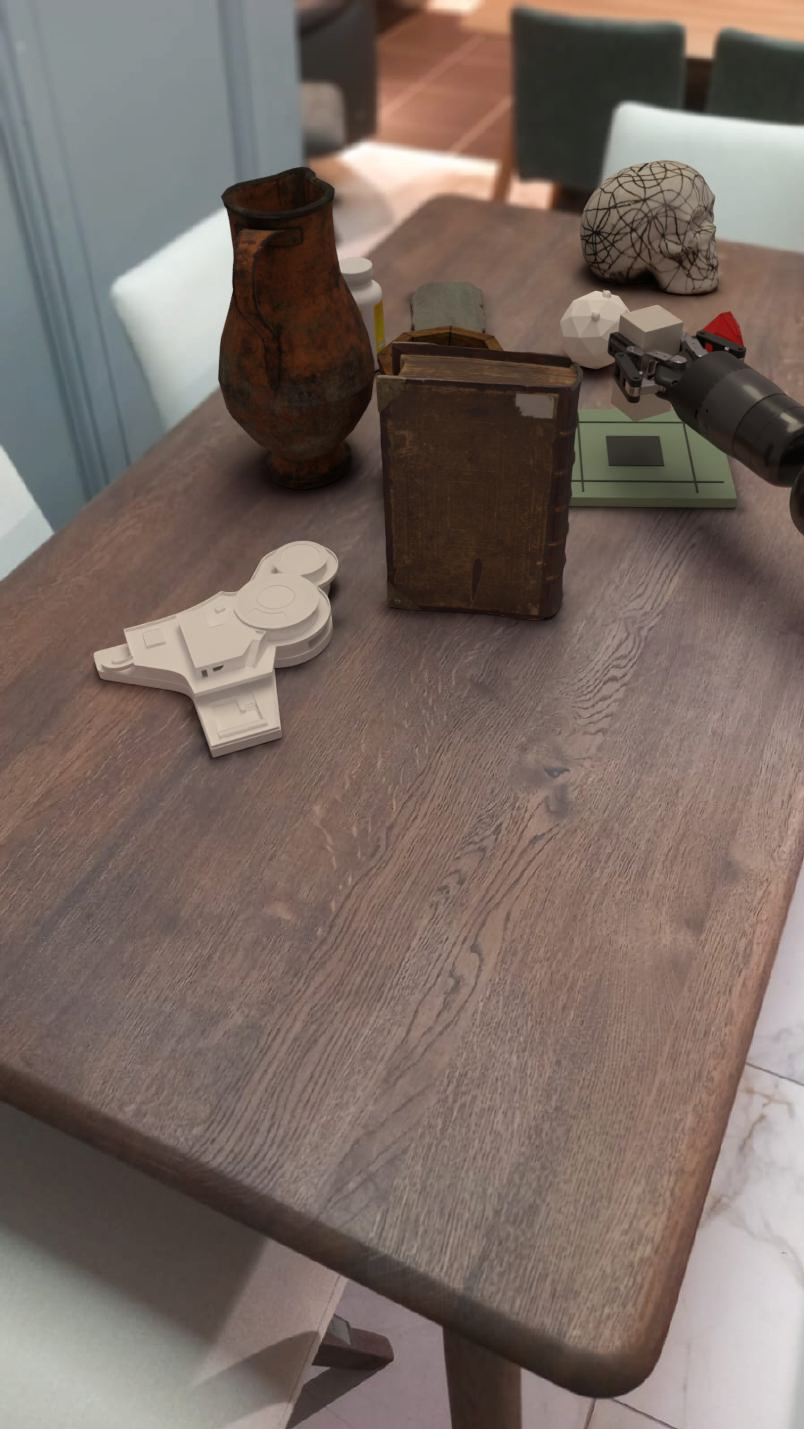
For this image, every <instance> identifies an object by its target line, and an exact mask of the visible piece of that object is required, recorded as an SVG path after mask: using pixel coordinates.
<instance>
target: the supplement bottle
mask: <svg viewBox="0 0 804 1429" xmlns="http://www.w3.org/2000/svg"><path fill="white" fill-rule="evenodd" d="M338 260H339V259H338ZM339 266H340V271H341V273H342V275H343V277H344V279H345V281H346V283H347V285H348V287H349V289H350V291H351V293H352V295H353V297H354V299H355V301H356V303H357V306H358V309H359V311H360V314H361V316H362V319H363V321H364V324H365V326H366V329H367V331H368V334H369V339H370V343H371V348H372V352H373V357H374V361H375V372H376V371H379V364H378V359H377V353H379V352H380V351H381V350H382V349H383V348H385V347H386V346H387V345H386V333H385V315H384V300H383V290H382V287H381V285H380V284H379V283H378V282H377V281H375V280H374V279H372V278H373V275H374V268H373V267H374V266H373V263H372V261H371V260H370V259H368V258H365V257H360V256H354V257H345V258H342V259H340V260H339Z"/></svg>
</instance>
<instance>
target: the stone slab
mask: <svg viewBox="0 0 804 1429" xmlns="http://www.w3.org/2000/svg"><path fill="white" fill-rule="evenodd" d="M483 304H484V302H483V294H482V290H481V289H480V288H479V287H478V286H476V285H475V284H474V283H472V282H470V281H442V282H440V281H430V282H425V283H424V284H422V285H420V286H419V287H418V288H416V290H415V292H414V293H413V294H412V296H411V298H410V305H411V312H412V317H411V321H410V322H411V323H412V326H413V331H417V330H423V329H430V328H436V327H443V326H449V325H451V326H455V327H459V328H464V329H468V330H472V331H476V332H480V333H484V331H485V330H486V329H487V326H486V318H485V315H486V312H485V311H484V310H483V309H482V306H483Z"/></svg>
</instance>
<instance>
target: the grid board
mask: <svg viewBox="0 0 804 1429" xmlns="http://www.w3.org/2000/svg"><path fill="white" fill-rule="evenodd" d="M578 416H579V422H578V426H577V428H576V434H575V446H574V450H575V453H576V455H575V463H574V465H573V470H572V482H571V488H572V497H571V499H570V505H569V507H601V508H602V507H605V508H606V507H609V508H610V507H612V508H614V507H615V508H616V507H617V508H619V507H620V508H702V509H703V508H704V509H705V508H707V509H709V508H711V509H712V508H713V509H715V508H716V509H717V508H719V509H736V507H737V502H738V497H737V493H736V487H735V483H734V480H733V476H732V472H731V467H730V463H729V460H728V455H727V454H725V453H723V452H722V451H720V450H719V449H717V448H716V447H715V446H714V445H712V444H711V443H710V442H708V441H707V440H706V439H704V438H703V437H702V436H701V435H699V434H698V433H697V432H695V431H694V430H693V429H691V428H690V427H689V426H688V425H686V424H685V423H684V422H682V421H681V420H680V419H679V418H678V416H677V414H676V413H675V411H674V408H673V409H672V408H671V410H670V411H669V412H666V413H663V414H659V415H656V416H652V417H649V418H646V419H642V420H639V421H635V422H634V421H633V420H631V419H630V418H629V417H628V416H626V415H625V414H624V413H623V412H622V411H620V410H619V409H618V408H588V409H587V408H578Z"/></svg>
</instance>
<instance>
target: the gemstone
mask: <svg viewBox="0 0 804 1429" xmlns="http://www.w3.org/2000/svg"><path fill="white" fill-rule="evenodd" d="M701 330H703V331H707V332H709V333H712V334H714V335H717V336H719V337H722V338H724V339H726V340H729V341H731V342H734V343H736V344H739V345H741V346H744V347H745V345H744V341H743V335H742V330H741V326H740V324H739V323H738V321H737V320H736V318H735V316H734V314H733V313H732V311H730V310H729V311H724V312H721V313H719V314H718V315H717V316H716V317H715V318H713V319H712V320H711V321H710V322H709V323H708V324H707V325H705V327H703V328H701ZM706 351H709V352H712V345H711V344H708V343H707V345H706Z"/></svg>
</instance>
